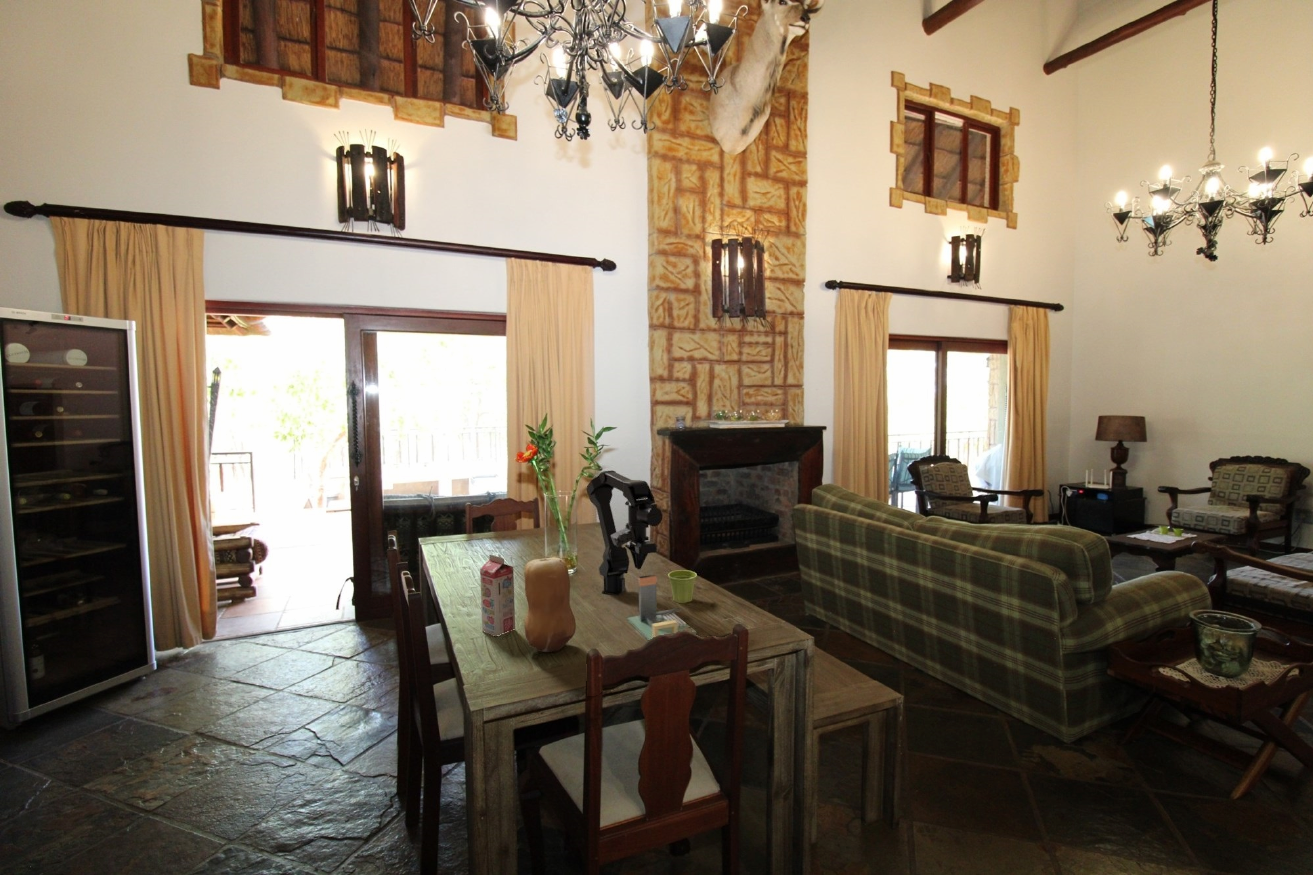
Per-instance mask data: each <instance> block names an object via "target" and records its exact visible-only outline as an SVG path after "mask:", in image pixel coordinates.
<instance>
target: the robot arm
mask: <svg viewBox="0 0 1313 875" xmlns="http://www.w3.org/2000/svg"><path fill="white" fill-rule="evenodd" d="M614 489H617V490H619V491H620V492H622V496H623V497H624V498H625V499H627V500H626V502H625V503H624V505H625V506H627V514H628V515H627V517H628V519H627V520H628V521H627V522H626V524H625V527H624V528H623V529H620V530H617V528H616V524H615V521H614V520H615V519H614V515H613V511H612V507H611V501H612V497H613V490H614ZM586 493H587V495H588V498H589V502H591V503H592V505H594V507H595V509H596V512H597V516H598V521H599V526H600V530H601V533H602V538H603V542H604V548H605V549H604V551H603V554H602V563H601V564H600V566H599V567H598V572H599V575H600V576H602V577H603V590H602V591H601V594H606V595H615V596H619V595H621V594H622V593H623V592H625V591H626V590H627V588H626V578H625V576H624V575H625V574H628V573H629V572H628V571H629V567H630V563H631V562H630V557H629V554H628V550H629V552H630V554H631V557H632V560H633V561H632V562H633V563H634V564H633V565H634V568H635V569H637V570H642V568H643V564H644V563H645V560H646V558H647V556H648V554H654V553H657V552H658V545H657V544H656V543H655V542H653V541H651V540H650V539H649V536H647V529H648V528H649V526H651V527H658V526H659V525H660V524H661V523H662V521H663V513H662V511H661V509H660V508H658V504H657V503H656V501H655V496H654V494H653V493H652V490H651V488H650V486H649V483H648V482H647V481H646V480H641V479H631V478H629V477H626V476H624V475H622V474H620V473H618V472H617V471H615V470H603V471H602V472H599V474H598V475H597V476H595V477H594V478H593V479H591V480H590V481H589V483H587V486H586ZM623 545H624V546H623Z"/></svg>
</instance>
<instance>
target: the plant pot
mask: <svg viewBox="0 0 1313 875" xmlns="http://www.w3.org/2000/svg"><path fill="white" fill-rule="evenodd" d="M667 576H668V578H669V582H670V586H671V592H672V599H673V601H674V602H676V603H679V604H687V603H688V602H689V603H690V602H692V601H693V594H694V587H695V581H696V578H697V576H698V575H697V573H696V572H695V571H692V570H687V569H685V570H683V569H680V570H673V571H670V572H669V573H668V574H667Z"/></svg>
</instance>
